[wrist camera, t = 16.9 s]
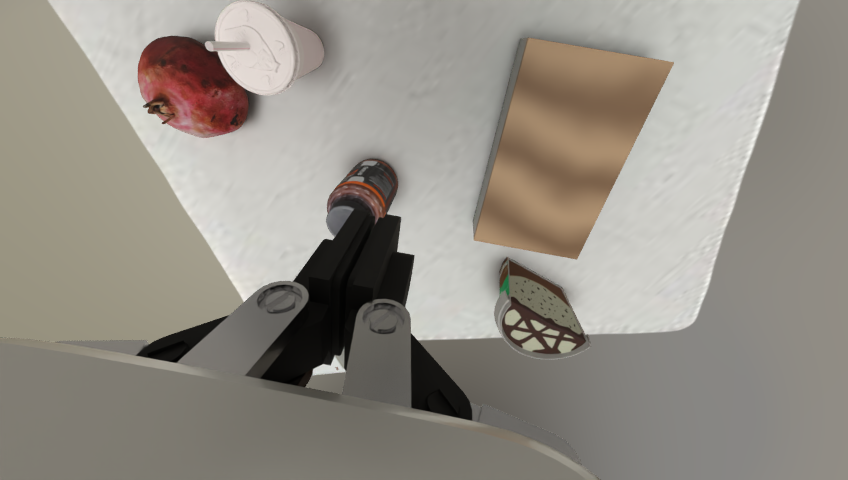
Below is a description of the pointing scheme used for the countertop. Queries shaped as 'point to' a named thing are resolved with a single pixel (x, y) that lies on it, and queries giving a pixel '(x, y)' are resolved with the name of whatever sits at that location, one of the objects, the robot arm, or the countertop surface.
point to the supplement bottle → (362, 193)
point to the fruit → (190, 88)
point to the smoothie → (264, 47)
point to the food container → (536, 315)
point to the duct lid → (565, 144)
